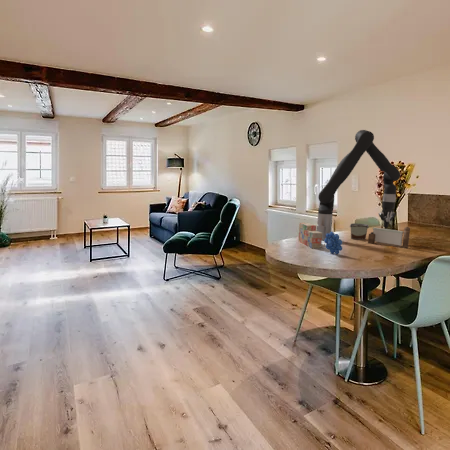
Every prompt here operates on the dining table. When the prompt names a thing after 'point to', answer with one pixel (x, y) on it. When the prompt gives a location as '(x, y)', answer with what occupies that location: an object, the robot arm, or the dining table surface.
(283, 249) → the dining table surface
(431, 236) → the dining table surface
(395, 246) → the sill
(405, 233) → the hinge post
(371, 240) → the latch post
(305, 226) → the stack of blocks
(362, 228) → the food container
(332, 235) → the grapes
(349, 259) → the dining table surface
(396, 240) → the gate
